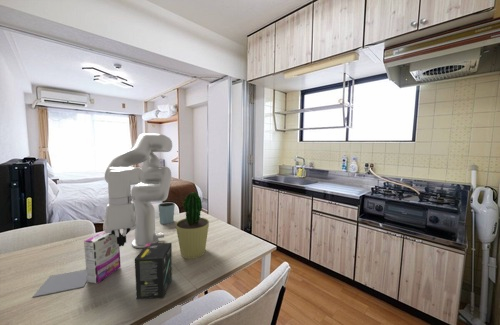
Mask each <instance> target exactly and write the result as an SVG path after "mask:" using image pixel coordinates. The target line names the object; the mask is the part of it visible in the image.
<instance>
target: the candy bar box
mask: <svg viewBox="0 0 500 325" xmlns="http://www.w3.org/2000/svg"><path fill="white" fill-rule="evenodd" d="M83 245H84V246H83V247H84V257H85V258H84V259H85V270H86V273H87V282H86V283H89V284H90V283H91V284H99V283H100V282H102V281H103V280H104V279H106V278H108V277H109V276H110V275H111V274H113V273H115V272H116V271H117V270H119V269H120V268H121V253H120V247H119V244H117V237H116V236H115V235H114V234H112V233H105V231H102V232H101V233H99V234H96V235H94V236H92V237H90V238H88V239H86V240H83Z"/></svg>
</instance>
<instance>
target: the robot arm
mask: <svg viewBox="0 0 500 325" xmlns="http://www.w3.org/2000/svg"><path fill="white" fill-rule="evenodd" d="M172 149H173V142H172V139H171V138H170V137H168V136H167V135H164V134H162V133H140V134H139V135H138V136H137V137H136V138H135V141H134V142H133V145H132V146H131V148H130V150H127V151H126V152H123V153H122V154H120V155H118V156H116V157H115V158H113V159H112V160H111V162H110V163H109V164H108V167H106V170H105V173H104V180H105V182H106V183H107V186H108V187H107V189H108V191H107V192H108V203H107V205H106V208H105V219H104V220H105V222H104V225H105V227H104V228H105V233H112V234H114V235H115V236H116V237H117V244H119V248H120V247H124V246H125V244H126V243H127V234H129V232H131V231H134V239H133V240H132V242H131V246H132V247H133V248H137V249H144V247H145V246H146V245H147V244H148V243H159V239H163V238H165V233H162V232H159V233H158V232H157V231H156V216H155V215H156V214H155V213H156V212H155V207H154V205H153V204H152V202H153V203H154V202H165V201H166V200H167V199H168V198H169V197H168V196H169V192H170V186H171V181H172V172H171V168H170V167H168V166H160V164H161V161H160V158H159V157H158V156H157V155H156V154H155V153H170V152H171V151H172ZM141 163H142V166H141V167H137V166H135V165H138V164H141ZM132 185H133V186H132ZM131 187H132V188H131ZM120 230H122V233H121V231H120Z"/></svg>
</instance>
